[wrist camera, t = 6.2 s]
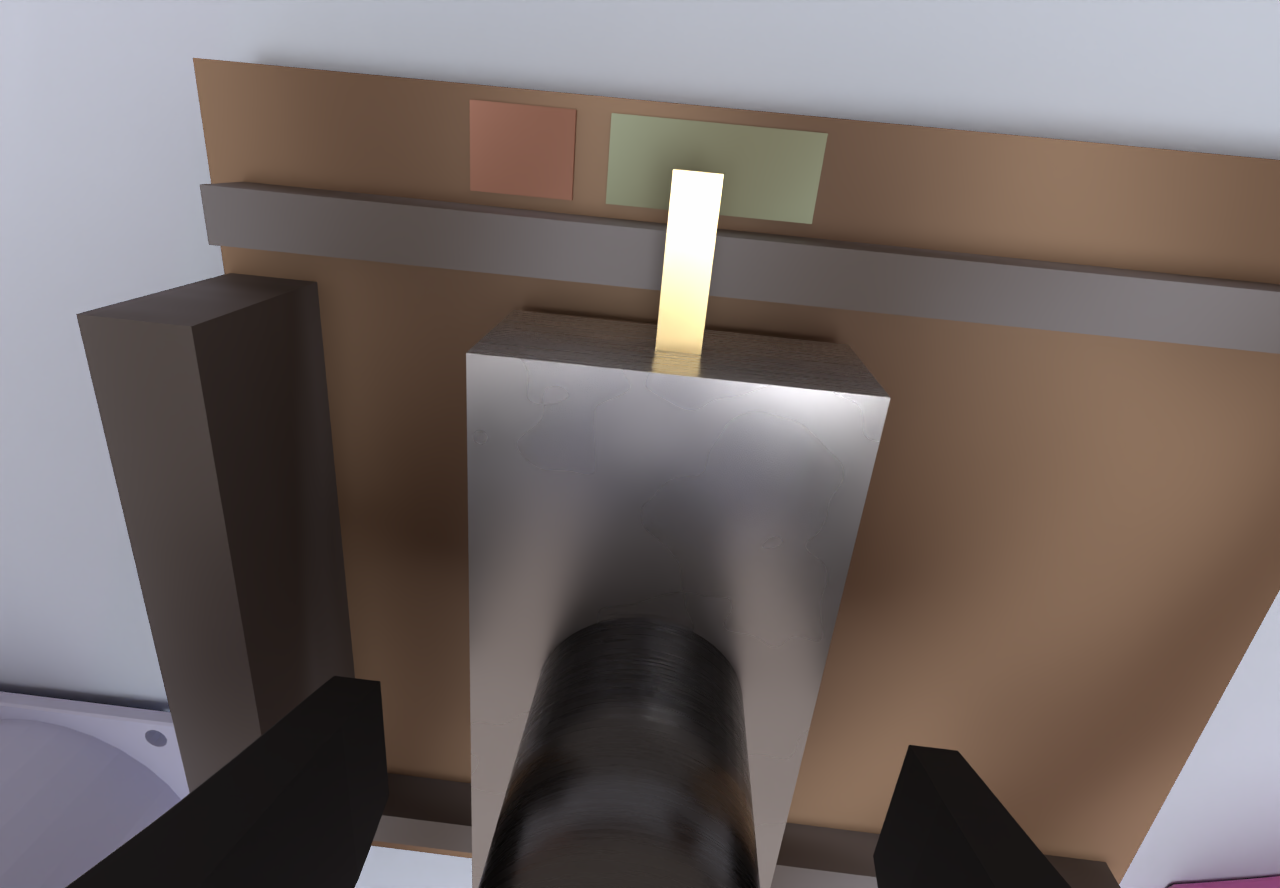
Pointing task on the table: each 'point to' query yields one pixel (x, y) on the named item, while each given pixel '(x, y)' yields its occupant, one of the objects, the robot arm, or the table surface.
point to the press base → (741, 303)
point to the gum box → (1235, 883)
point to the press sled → (653, 579)
